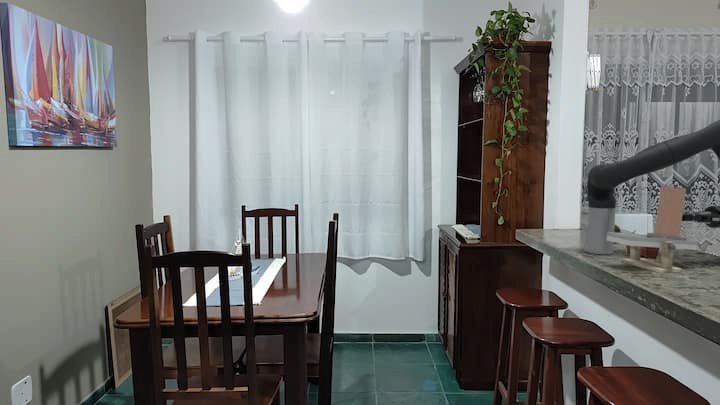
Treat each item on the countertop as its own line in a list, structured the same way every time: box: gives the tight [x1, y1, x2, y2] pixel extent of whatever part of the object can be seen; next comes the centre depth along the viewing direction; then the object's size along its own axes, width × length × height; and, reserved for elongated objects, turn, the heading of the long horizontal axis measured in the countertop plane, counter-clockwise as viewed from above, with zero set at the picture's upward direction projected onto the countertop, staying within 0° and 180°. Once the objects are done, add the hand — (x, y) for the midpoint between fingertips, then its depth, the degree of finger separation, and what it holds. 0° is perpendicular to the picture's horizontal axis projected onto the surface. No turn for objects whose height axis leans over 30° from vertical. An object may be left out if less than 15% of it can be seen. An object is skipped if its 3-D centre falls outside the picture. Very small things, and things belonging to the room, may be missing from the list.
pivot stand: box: [620, 241, 683, 274], centre depth 163 cm, size 8×18×9 cm, turn 12°
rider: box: [646, 186, 688, 241], centre depth 164 cm, size 8×8×18 cm
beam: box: [606, 232, 699, 251], centre depth 163 cm, size 26×10×3 cm, turn 103°
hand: (680, 217), depth 164 cm, fingers closed
